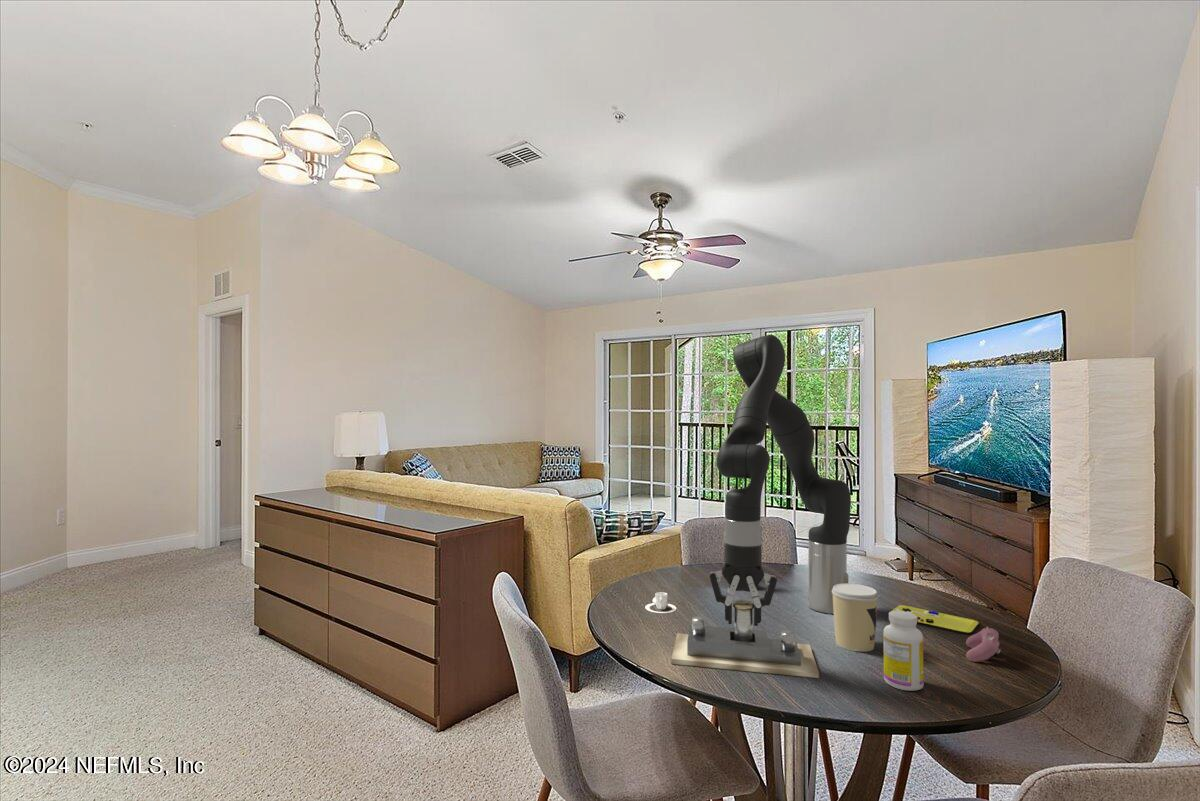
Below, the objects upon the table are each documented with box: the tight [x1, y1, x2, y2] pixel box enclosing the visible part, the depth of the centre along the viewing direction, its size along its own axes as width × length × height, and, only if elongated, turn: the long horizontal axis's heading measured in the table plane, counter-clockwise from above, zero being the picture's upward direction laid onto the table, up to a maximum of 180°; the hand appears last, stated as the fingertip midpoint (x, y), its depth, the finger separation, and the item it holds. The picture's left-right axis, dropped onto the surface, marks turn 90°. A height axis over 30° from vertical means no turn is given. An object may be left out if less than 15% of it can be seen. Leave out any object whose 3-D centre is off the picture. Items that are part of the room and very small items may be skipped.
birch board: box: [670, 632, 820, 679], centre depth 123 cm, size 28×14×1 cm, turn 78°
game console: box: [891, 605, 980, 636], centre depth 146 cm, size 18×11×2 cm, turn 49°
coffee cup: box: [832, 583, 879, 653], centre depth 130 cm, size 9×9×12 cm
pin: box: [732, 599, 755, 642], centre depth 123 cm, size 4×4×10 cm
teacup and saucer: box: [644, 591, 677, 614], centre depth 154 cm, size 9×8×4 cm
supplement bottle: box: [882, 610, 925, 692], centre depth 111 cm, size 7×7×13 cm
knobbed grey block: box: [687, 616, 801, 666], centre depth 123 cm, size 22×9×6 cm, turn 78°
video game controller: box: [965, 626, 1001, 663], centre depth 124 cm, size 10×5×7 cm, turn 149°
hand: (742, 623), depth 123 cm, fingers open, 4 cm apart
